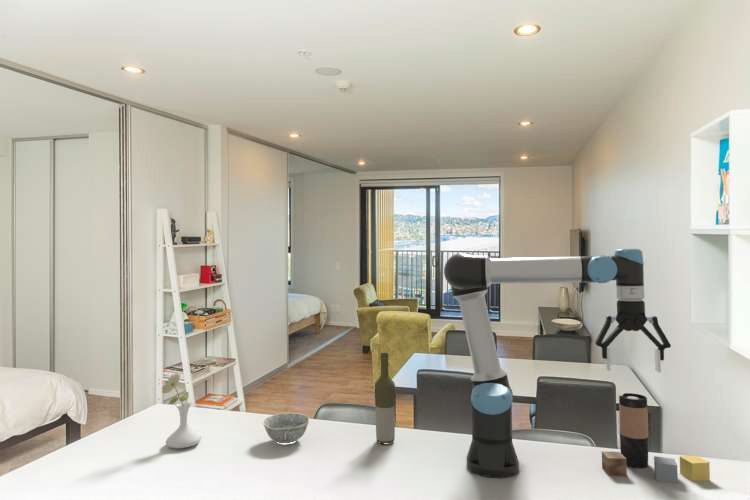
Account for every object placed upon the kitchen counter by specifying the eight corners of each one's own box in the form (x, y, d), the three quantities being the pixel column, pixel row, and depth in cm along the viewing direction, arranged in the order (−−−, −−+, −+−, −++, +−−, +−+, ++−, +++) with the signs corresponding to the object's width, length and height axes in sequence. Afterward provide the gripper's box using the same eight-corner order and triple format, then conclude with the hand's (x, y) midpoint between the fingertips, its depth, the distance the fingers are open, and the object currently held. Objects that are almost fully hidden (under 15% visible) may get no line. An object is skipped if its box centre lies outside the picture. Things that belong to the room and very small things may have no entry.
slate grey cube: (656, 481, 136) (656, 462, 136) (654, 473, 141) (654, 456, 141) (677, 484, 134) (677, 465, 134) (674, 476, 139) (674, 458, 139)
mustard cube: (692, 481, 135) (692, 463, 135) (680, 473, 140) (679, 456, 140) (709, 480, 136) (709, 462, 136) (696, 473, 141) (696, 455, 141)
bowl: (306, 450, 161) (305, 427, 161) (257, 451, 161) (257, 428, 161) (312, 433, 177) (312, 412, 177) (268, 433, 177) (268, 412, 177)
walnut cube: (608, 475, 140) (608, 458, 140) (602, 468, 144) (601, 451, 145) (626, 476, 139) (626, 458, 139) (619, 469, 144) (619, 451, 144)
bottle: (377, 437, 172) (376, 351, 172) (397, 439, 170) (396, 352, 171) (373, 445, 165) (372, 355, 165) (394, 446, 163) (392, 355, 164)
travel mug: (652, 469, 143) (651, 400, 144) (624, 467, 145) (622, 399, 145) (644, 459, 151) (642, 393, 151) (617, 457, 152) (615, 392, 153)
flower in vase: (188, 436, 175) (188, 366, 175) (208, 443, 168) (208, 370, 169) (154, 448, 164) (153, 373, 165) (173, 456, 157) (173, 377, 158)
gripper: (587, 300, 148) (590, 371, 148) (681, 300, 142) (683, 374, 141) (584, 298, 156) (586, 366, 155) (673, 298, 149) (675, 369, 148)
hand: (632, 370), depth 148 cm, fingers open, 13 cm apart
